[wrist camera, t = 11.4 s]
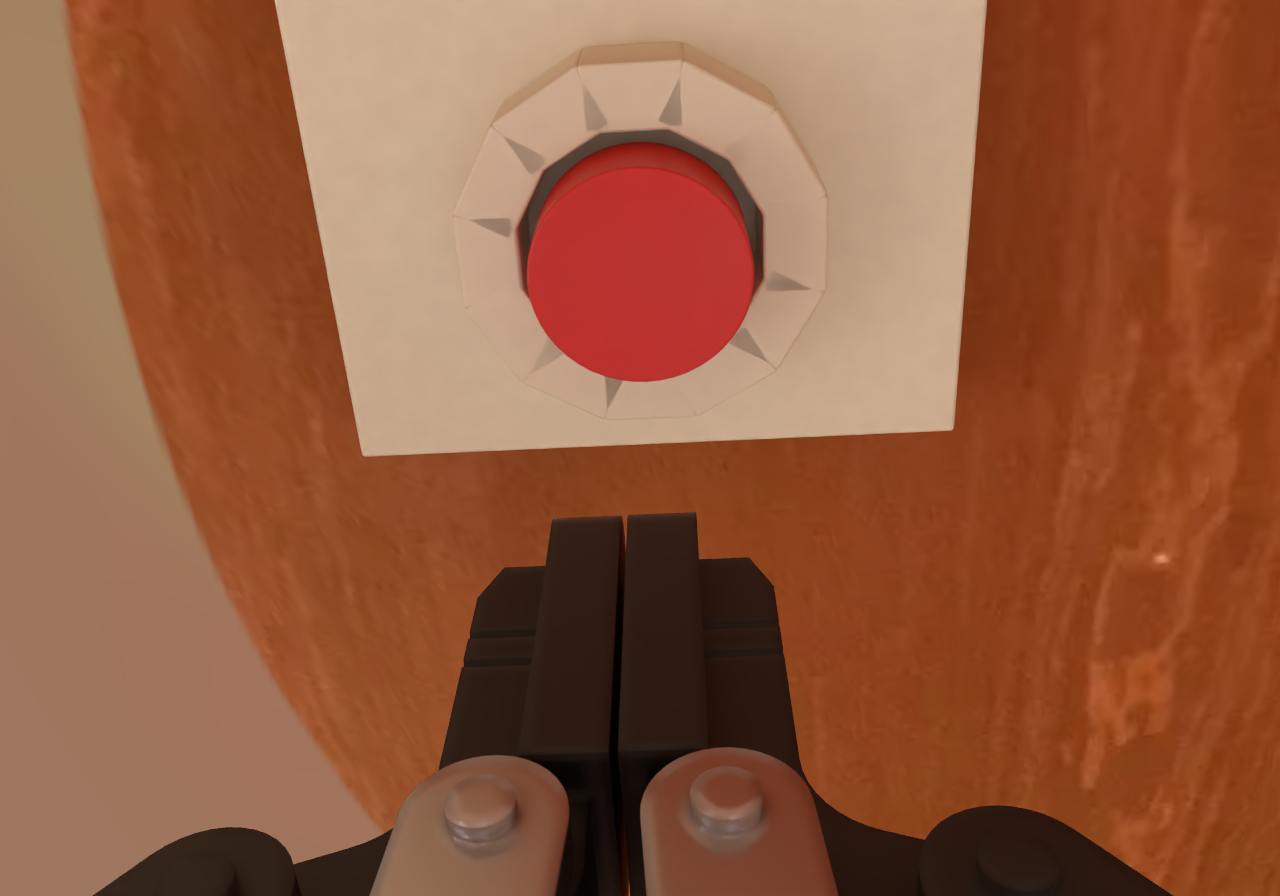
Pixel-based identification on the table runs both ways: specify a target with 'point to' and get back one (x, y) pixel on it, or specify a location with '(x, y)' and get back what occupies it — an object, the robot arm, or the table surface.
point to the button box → (622, 113)
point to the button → (640, 263)
